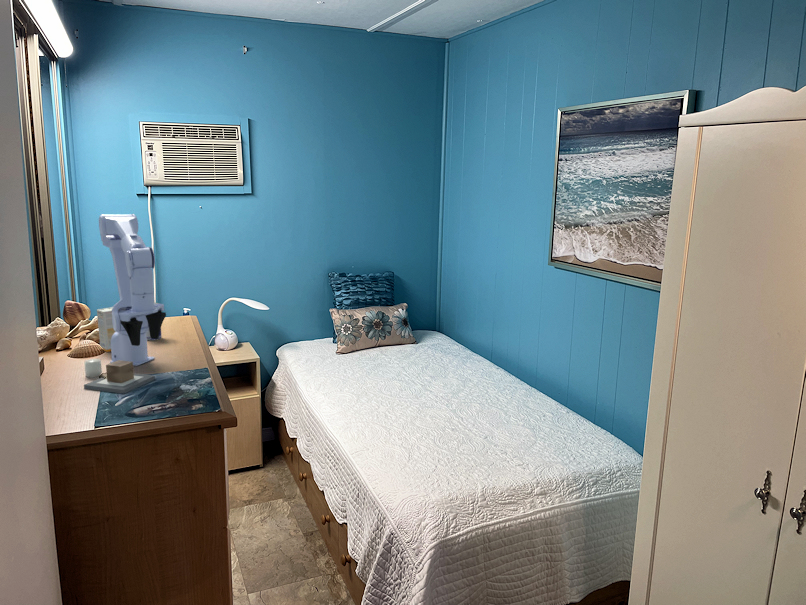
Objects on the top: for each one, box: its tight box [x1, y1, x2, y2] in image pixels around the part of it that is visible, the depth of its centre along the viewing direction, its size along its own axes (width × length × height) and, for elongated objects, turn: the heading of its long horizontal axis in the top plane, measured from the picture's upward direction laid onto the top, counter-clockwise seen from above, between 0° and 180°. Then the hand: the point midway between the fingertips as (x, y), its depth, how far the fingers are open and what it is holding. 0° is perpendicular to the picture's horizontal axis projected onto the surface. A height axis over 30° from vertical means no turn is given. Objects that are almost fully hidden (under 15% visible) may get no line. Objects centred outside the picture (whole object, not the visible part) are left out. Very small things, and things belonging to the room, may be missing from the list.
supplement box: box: [96, 306, 116, 353], centre depth 189 cm, size 8×5×13 cm, turn 140°
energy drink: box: [146, 302, 163, 342], centre depth 202 cm, size 5×5×12 cm
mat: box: [83, 372, 156, 394], centre depth 157 cm, size 12×12×1 cm
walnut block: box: [105, 360, 135, 383], centre depth 157 cm, size 4×4×4 cm
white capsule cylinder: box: [84, 358, 103, 378], centre depth 164 cm, size 4×4×4 cm
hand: (145, 341), depth 163 cm, fingers open, 7 cm apart
